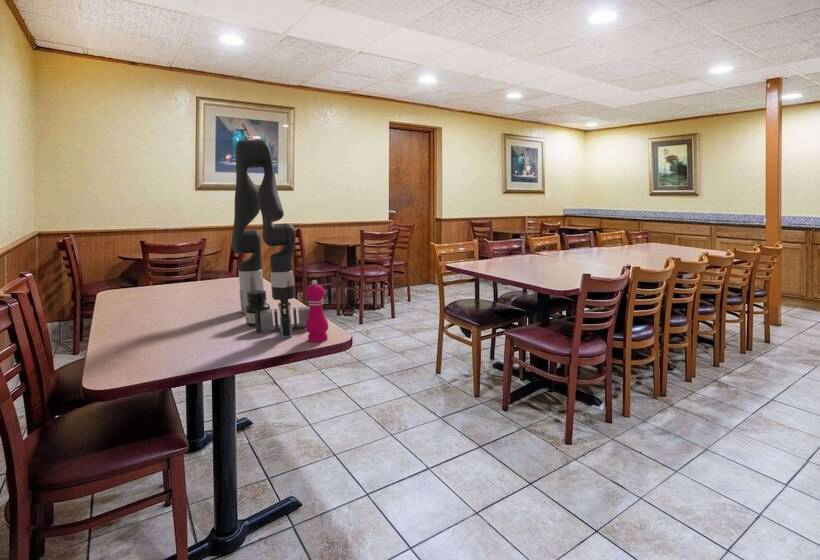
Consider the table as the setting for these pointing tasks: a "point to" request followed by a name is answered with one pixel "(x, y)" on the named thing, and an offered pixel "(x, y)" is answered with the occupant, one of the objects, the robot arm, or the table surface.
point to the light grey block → (289, 327)
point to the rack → (267, 320)
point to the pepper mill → (316, 314)
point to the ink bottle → (255, 305)
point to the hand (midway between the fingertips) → (286, 333)
